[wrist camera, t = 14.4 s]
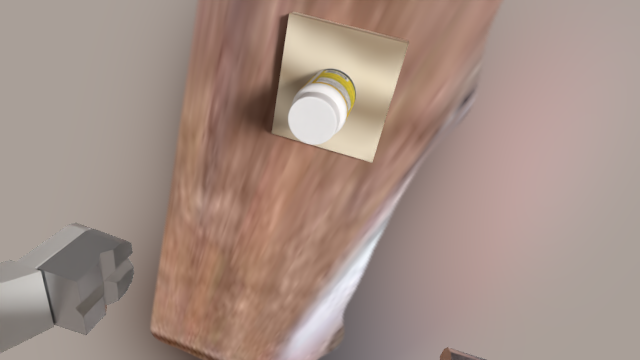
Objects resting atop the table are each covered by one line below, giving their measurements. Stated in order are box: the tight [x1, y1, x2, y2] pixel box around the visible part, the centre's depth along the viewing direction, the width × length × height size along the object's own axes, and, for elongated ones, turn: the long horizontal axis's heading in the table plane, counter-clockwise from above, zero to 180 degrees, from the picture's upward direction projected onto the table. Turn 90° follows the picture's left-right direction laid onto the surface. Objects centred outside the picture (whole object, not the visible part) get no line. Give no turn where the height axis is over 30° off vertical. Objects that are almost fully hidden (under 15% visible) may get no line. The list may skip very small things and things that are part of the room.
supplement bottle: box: [288, 68, 356, 145], centre depth 34 cm, size 5×5×8 cm
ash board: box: [272, 12, 409, 162], centre depth 38 cm, size 12×11×2 cm
